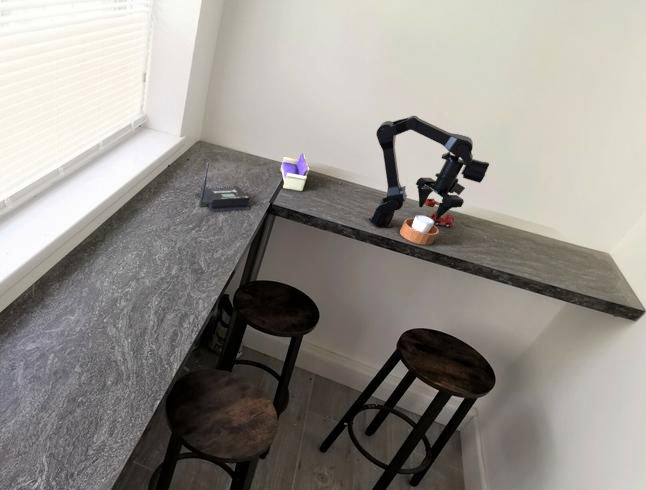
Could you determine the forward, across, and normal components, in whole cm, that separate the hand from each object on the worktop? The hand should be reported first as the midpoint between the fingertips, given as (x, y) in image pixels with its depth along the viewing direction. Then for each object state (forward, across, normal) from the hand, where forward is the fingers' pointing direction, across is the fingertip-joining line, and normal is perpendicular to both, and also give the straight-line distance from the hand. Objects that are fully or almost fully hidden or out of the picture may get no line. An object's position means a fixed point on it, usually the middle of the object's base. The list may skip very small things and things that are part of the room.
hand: (428, 213), depth 182 cm
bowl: (+10, 0, 0) cm, 10 cm away
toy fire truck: (+10, +9, -16) cm, 21 cm away
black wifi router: (+10, +27, +72) cm, 78 cm away
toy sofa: (+10, +48, +31) cm, 58 cm away
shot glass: (+10, 0, 0) cm, 10 cm away
